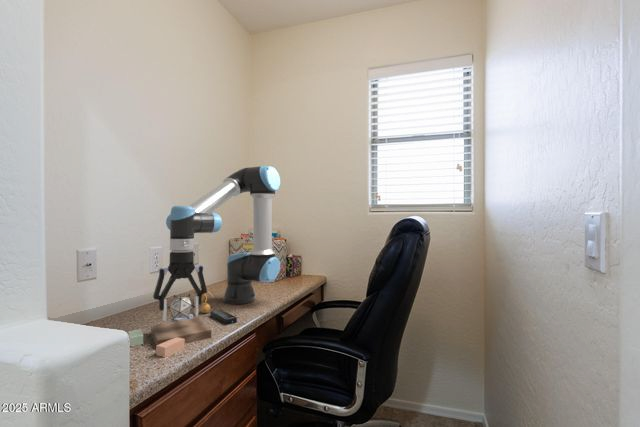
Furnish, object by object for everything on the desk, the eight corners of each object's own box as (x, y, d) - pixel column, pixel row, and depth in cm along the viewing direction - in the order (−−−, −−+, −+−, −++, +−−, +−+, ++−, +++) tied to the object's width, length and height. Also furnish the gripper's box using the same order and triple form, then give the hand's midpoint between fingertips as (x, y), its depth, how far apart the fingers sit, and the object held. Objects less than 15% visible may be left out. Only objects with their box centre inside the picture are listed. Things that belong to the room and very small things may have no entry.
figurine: (216, 312, 130) (217, 284, 130) (209, 316, 124) (209, 287, 124) (198, 311, 131) (199, 283, 132) (190, 315, 125) (191, 286, 126)
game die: (182, 331, 102) (181, 312, 97) (162, 320, 104) (159, 301, 99) (200, 311, 110) (200, 293, 104) (181, 301, 111) (179, 283, 106)
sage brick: (128, 340, 100) (128, 331, 100) (140, 338, 102) (140, 329, 102) (130, 347, 94) (130, 338, 94) (143, 345, 96) (143, 335, 96)
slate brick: (186, 321, 119) (186, 313, 119) (193, 322, 118) (193, 314, 118) (171, 326, 113) (171, 318, 113) (178, 328, 111) (178, 319, 112)
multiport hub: (220, 314, 128) (220, 309, 128) (237, 323, 117) (237, 317, 117) (210, 317, 125) (210, 311, 125) (226, 326, 114) (226, 320, 114)
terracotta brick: (176, 346, 95) (176, 337, 95) (184, 348, 94) (184, 338, 94) (156, 355, 89) (156, 345, 89) (164, 358, 87) (165, 347, 87)
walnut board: (198, 324, 115) (198, 317, 115) (211, 337, 102) (211, 330, 102) (150, 333, 106) (150, 325, 106) (157, 349, 93) (157, 340, 93)
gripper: (146, 253, 95) (144, 326, 95) (217, 250, 108) (216, 314, 107) (143, 251, 101) (142, 319, 101) (211, 248, 114) (210, 309, 113)
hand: (180, 316), depth 104 cm, fingers closed on game die, 9 cm apart
